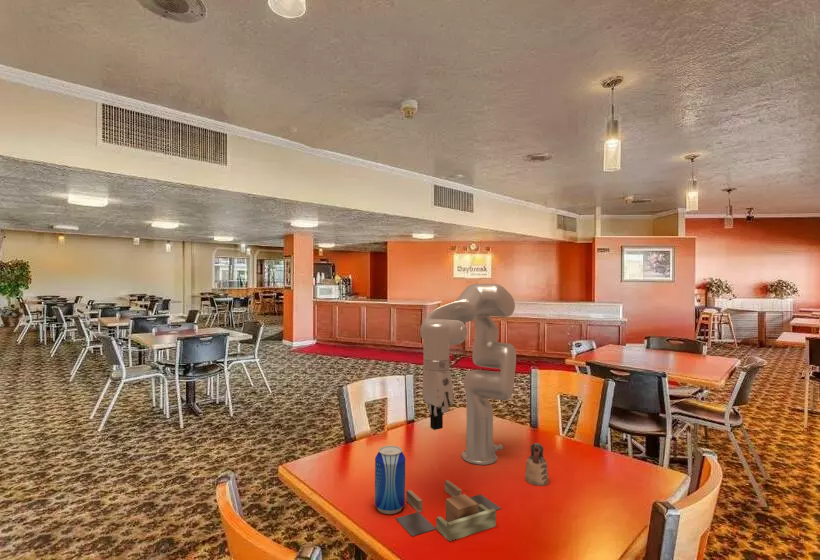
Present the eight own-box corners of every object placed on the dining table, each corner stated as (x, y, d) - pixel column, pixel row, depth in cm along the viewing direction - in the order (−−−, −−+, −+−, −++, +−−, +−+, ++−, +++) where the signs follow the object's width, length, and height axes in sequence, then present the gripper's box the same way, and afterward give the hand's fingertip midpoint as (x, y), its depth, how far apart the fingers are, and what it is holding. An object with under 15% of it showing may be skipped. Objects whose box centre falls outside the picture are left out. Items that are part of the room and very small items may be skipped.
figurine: (550, 479, 136) (550, 441, 137) (546, 488, 130) (546, 449, 130) (528, 474, 140) (528, 437, 140) (523, 482, 133) (523, 444, 134)
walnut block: (464, 516, 114) (464, 493, 114) (477, 527, 108) (478, 504, 108) (445, 522, 111) (445, 498, 111) (458, 533, 105) (458, 509, 106)
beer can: (374, 500, 121) (375, 444, 122) (403, 499, 122) (404, 444, 122) (374, 516, 113) (375, 456, 113) (405, 515, 114) (406, 455, 114)
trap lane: (466, 485, 131) (466, 472, 132) (516, 519, 112) (516, 504, 112) (384, 506, 118) (384, 492, 118) (424, 550, 98) (424, 532, 99)
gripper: (462, 368, 117) (462, 434, 117) (433, 359, 130) (433, 418, 130) (439, 371, 114) (439, 439, 114) (412, 361, 127) (412, 422, 127)
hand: (436, 428), depth 122 cm, fingers closed
